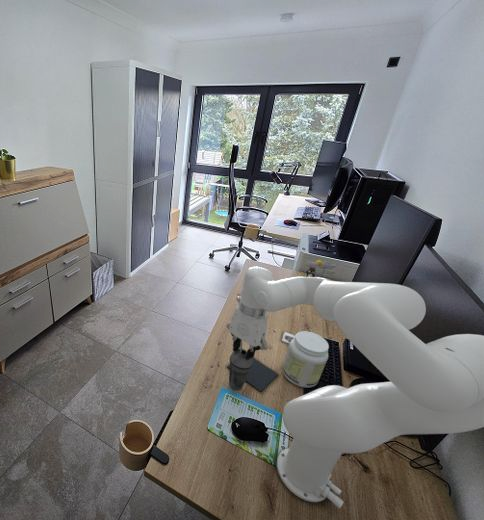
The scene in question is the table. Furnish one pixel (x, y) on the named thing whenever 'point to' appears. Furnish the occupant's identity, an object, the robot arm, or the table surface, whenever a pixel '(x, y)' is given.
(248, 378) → the mat
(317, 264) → the penguin figurine
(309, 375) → the supplement tub
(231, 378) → the beverage cup
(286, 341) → the vintage car picture box
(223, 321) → the table surface
